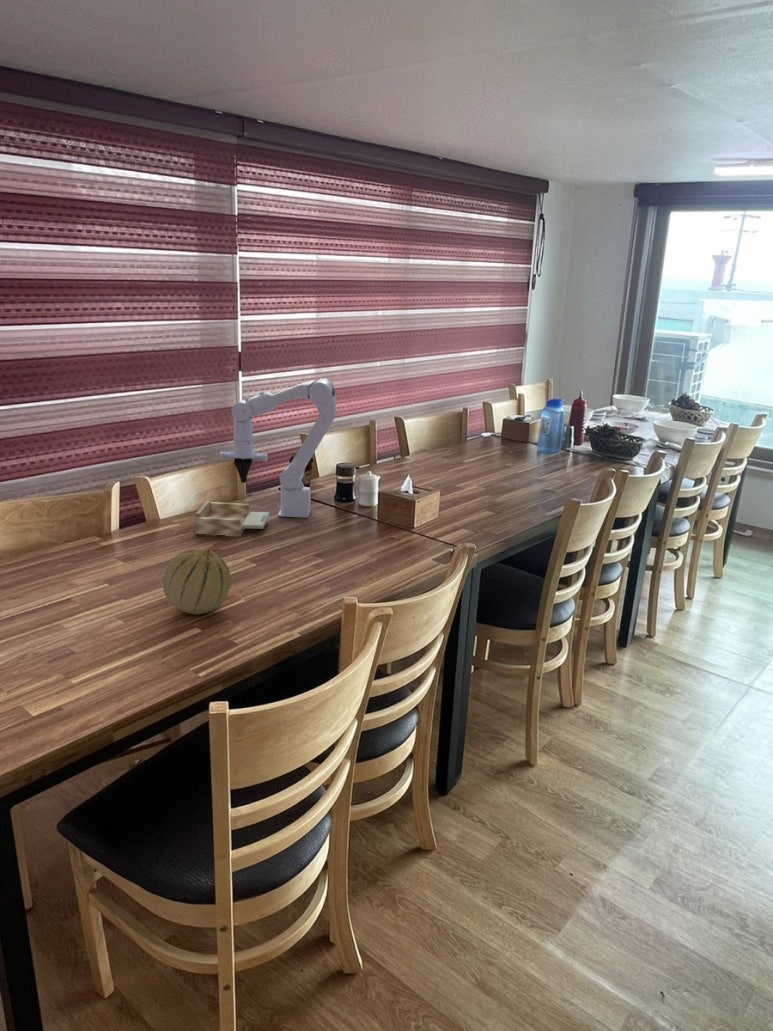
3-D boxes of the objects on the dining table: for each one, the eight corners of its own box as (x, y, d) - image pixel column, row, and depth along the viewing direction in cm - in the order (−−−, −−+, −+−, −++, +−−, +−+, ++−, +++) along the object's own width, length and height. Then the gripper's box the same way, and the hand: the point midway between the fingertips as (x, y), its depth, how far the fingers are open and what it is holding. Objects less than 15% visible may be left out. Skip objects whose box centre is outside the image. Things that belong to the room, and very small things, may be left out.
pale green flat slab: (250, 514, 222) (269, 515, 222) (242, 528, 210) (262, 528, 210) (249, 511, 221) (269, 511, 221) (242, 524, 210) (262, 525, 210)
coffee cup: (315, 488, 257) (316, 453, 253) (311, 495, 249) (311, 459, 245) (291, 486, 258) (291, 451, 254) (286, 493, 250) (286, 457, 246)
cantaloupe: (152, 608, 165) (148, 546, 160) (209, 590, 174) (207, 532, 170) (186, 632, 155) (183, 567, 150) (244, 612, 165) (243, 551, 160)
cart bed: (250, 519, 224) (249, 500, 222) (240, 536, 209) (239, 517, 207) (208, 517, 224) (207, 498, 222) (195, 534, 209) (194, 514, 207)
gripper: (268, 438, 228) (268, 479, 232) (222, 435, 228) (223, 477, 232) (265, 443, 221) (265, 485, 226) (217, 440, 221) (218, 483, 225)
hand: (243, 481), depth 228 cm, fingers closed
